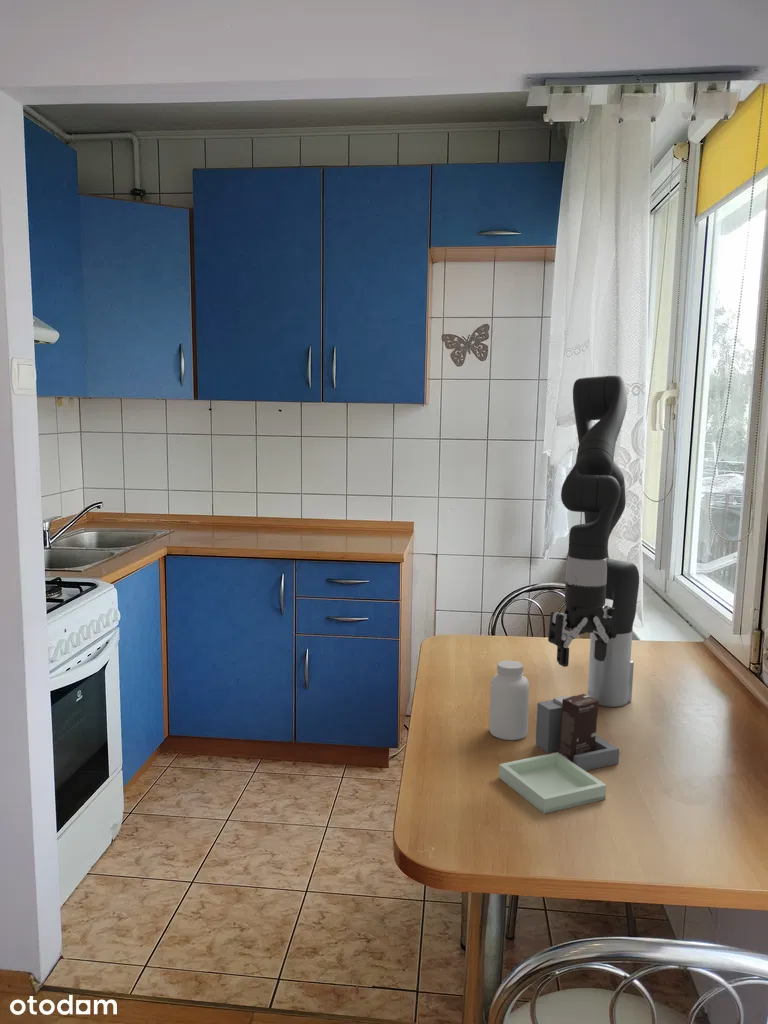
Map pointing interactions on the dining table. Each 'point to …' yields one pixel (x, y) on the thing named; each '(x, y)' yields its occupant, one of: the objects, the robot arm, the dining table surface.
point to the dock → (550, 737)
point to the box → (578, 726)
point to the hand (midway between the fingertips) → (581, 662)
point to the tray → (552, 782)
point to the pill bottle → (509, 702)
